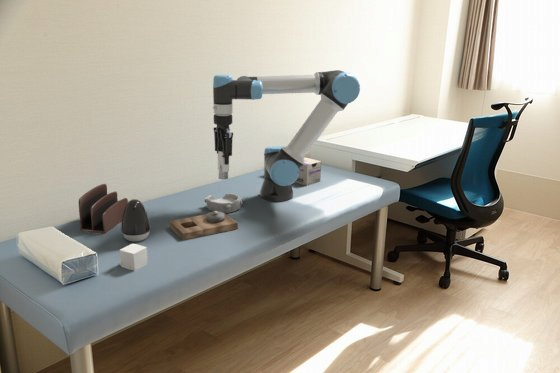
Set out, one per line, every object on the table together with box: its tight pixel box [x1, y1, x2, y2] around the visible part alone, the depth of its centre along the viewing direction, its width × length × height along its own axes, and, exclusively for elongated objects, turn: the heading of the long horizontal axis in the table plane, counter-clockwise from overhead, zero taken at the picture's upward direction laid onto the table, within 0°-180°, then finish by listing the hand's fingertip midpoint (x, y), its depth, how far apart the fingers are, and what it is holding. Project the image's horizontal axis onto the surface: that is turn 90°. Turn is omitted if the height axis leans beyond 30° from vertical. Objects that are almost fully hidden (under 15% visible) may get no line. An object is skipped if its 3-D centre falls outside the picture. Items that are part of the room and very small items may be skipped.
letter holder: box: [78, 183, 129, 235], centre depth 201 cm, size 10×20×14 cm, turn 169°
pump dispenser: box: [120, 198, 152, 243], centre depth 186 cm, size 10×10×15 cm
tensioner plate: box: [168, 211, 239, 241], centre depth 198 cm, size 22×14×6 cm, turn 122°
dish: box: [203, 192, 243, 214], centre depth 221 cm, size 14×14×5 cm
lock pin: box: [217, 150, 229, 180], centre depth 216 cm, size 4×4×12 cm
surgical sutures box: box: [294, 156, 322, 187], centre depth 264 cm, size 25×11×11 cm, turn 47°
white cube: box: [119, 242, 149, 272], centre depth 168 cm, size 6×6×6 cm
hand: (223, 170), depth 216 cm, fingers closed on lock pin, 3 cm apart
